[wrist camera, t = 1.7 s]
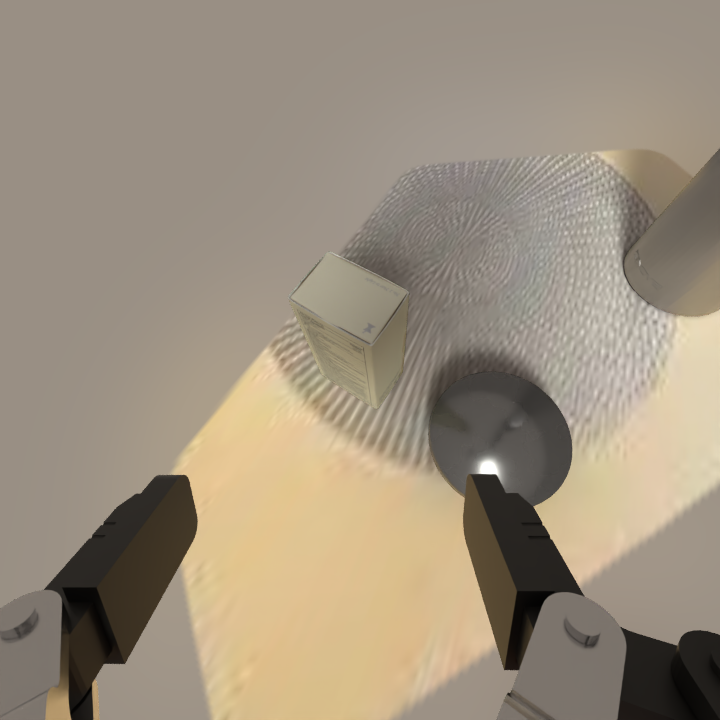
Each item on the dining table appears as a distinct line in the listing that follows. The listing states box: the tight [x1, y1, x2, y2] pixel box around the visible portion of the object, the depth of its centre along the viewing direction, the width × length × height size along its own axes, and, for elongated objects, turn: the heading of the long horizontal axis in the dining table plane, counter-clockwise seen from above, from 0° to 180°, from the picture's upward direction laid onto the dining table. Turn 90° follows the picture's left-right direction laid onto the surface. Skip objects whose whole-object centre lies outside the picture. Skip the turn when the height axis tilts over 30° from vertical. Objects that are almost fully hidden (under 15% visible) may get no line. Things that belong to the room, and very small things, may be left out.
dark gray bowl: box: [428, 372, 572, 506], centre depth 29 cm, size 10×10×3 cm
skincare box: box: [288, 252, 409, 409], centre depth 27 cm, size 6×4×12 cm
